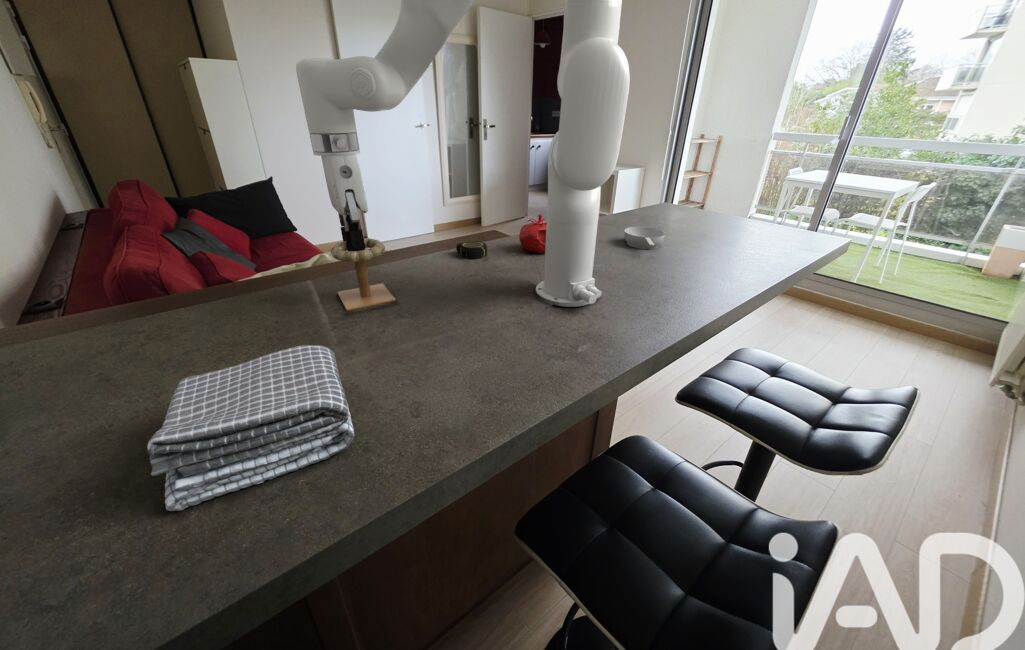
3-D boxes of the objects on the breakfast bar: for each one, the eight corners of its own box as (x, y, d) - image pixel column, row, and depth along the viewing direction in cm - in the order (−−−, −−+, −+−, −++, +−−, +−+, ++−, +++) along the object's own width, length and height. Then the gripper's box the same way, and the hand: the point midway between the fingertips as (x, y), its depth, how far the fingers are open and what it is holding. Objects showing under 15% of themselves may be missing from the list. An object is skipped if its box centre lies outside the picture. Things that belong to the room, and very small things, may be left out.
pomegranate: (511, 251, 109) (512, 215, 104) (532, 241, 116) (533, 208, 112) (544, 258, 104) (545, 221, 99) (563, 248, 111) (565, 213, 107)
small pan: (659, 239, 119) (661, 226, 117) (671, 260, 103) (674, 245, 102) (621, 237, 120) (622, 224, 118) (627, 258, 105) (629, 243, 103)
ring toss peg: (396, 304, 80) (389, 259, 75) (347, 315, 76) (338, 267, 71) (383, 288, 87) (376, 245, 82) (338, 297, 82) (328, 252, 78)
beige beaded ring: (391, 257, 75) (389, 247, 75) (338, 266, 71) (336, 256, 70) (377, 243, 82) (375, 234, 81) (328, 251, 78) (326, 242, 77)
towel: (361, 451, 46) (349, 395, 43) (159, 520, 39) (121, 459, 35) (340, 380, 58) (329, 331, 54) (181, 421, 50) (155, 368, 47)
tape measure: (481, 252, 108) (481, 238, 106) (491, 260, 102) (491, 246, 100) (456, 255, 105) (455, 241, 103) (464, 264, 100) (464, 249, 98)
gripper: (369, 147, 66) (386, 257, 75) (348, 140, 78) (364, 235, 87) (319, 149, 63) (342, 264, 72) (305, 141, 75) (327, 241, 84)
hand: (354, 248), depth 79 cm, fingers closed on beige beaded ring, 2 cm apart
